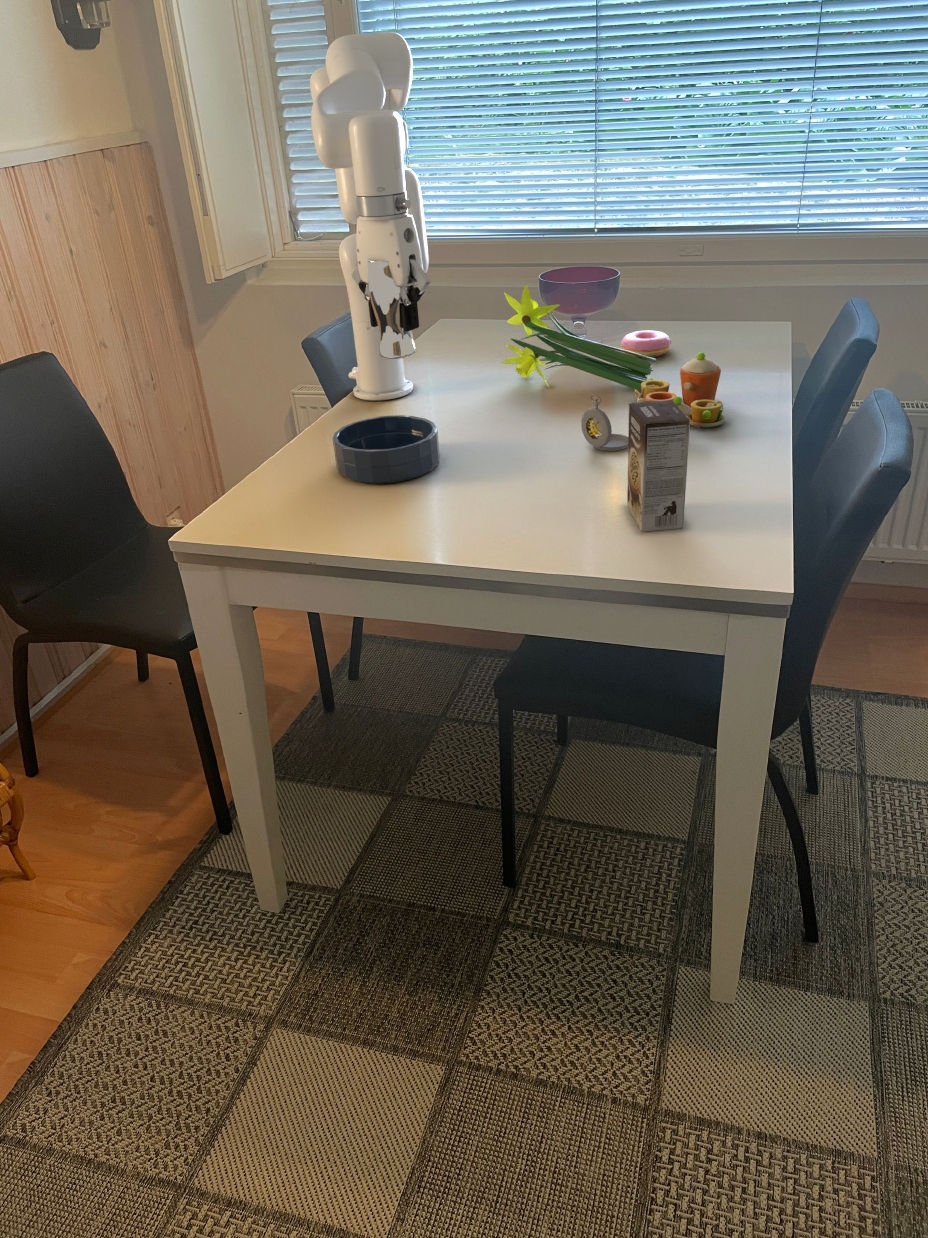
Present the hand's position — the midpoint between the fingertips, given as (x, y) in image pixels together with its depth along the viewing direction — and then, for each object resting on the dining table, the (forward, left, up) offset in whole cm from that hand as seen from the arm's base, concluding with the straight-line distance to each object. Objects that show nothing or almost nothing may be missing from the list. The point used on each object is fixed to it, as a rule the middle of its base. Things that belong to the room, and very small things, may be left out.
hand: (394, 326), depth 151 cm
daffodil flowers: (+1, +52, -23) cm, 57 cm away
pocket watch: (+26, +22, -23) cm, 41 cm away
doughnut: (+3, +77, -23) cm, 80 cm away
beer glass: (0, 0, -5) cm, 5 cm away
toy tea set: (+30, +42, -23) cm, 57 cm away
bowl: (-2, -3, -23) cm, 23 cm away
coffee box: (+47, +1, -23) cm, 53 cm away
